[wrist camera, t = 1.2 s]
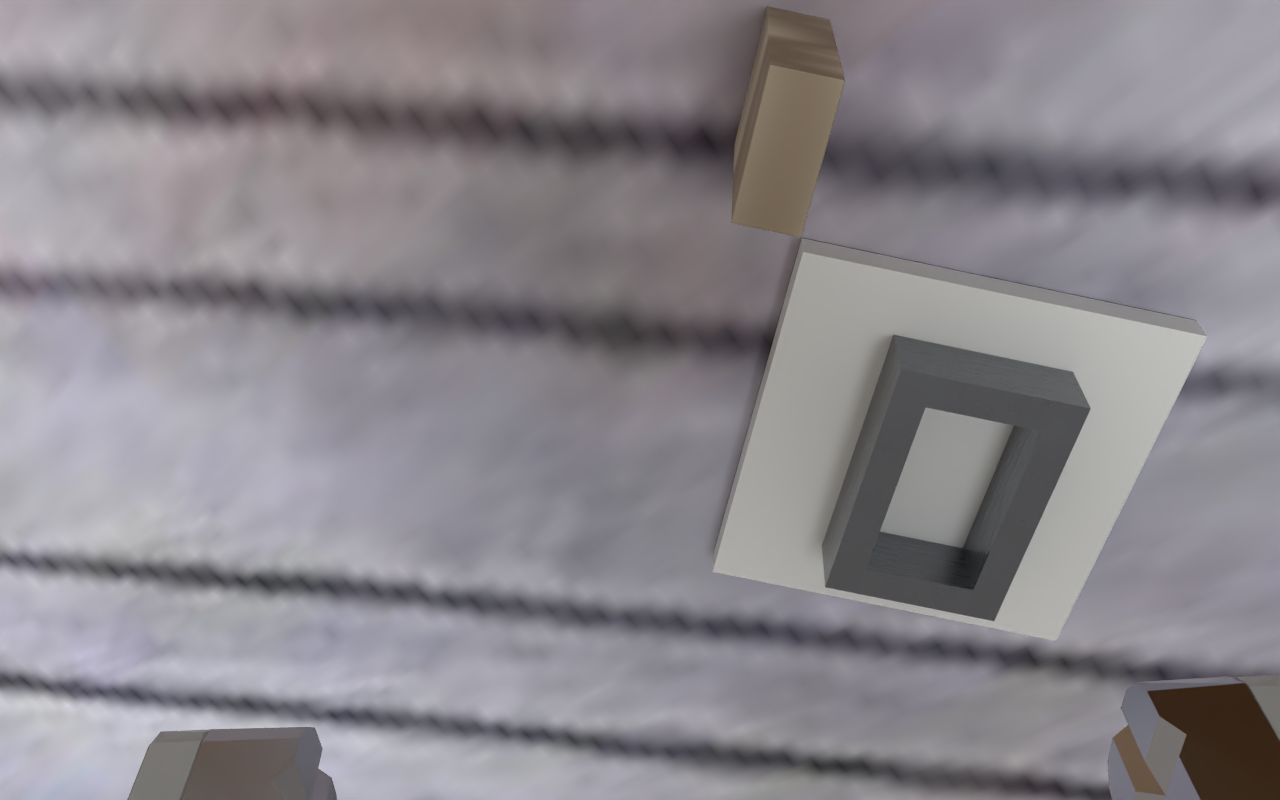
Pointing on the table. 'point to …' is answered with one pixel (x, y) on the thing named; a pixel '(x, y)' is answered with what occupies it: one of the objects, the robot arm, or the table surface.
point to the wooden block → (785, 122)
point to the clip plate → (943, 422)
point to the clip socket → (1013, 501)
